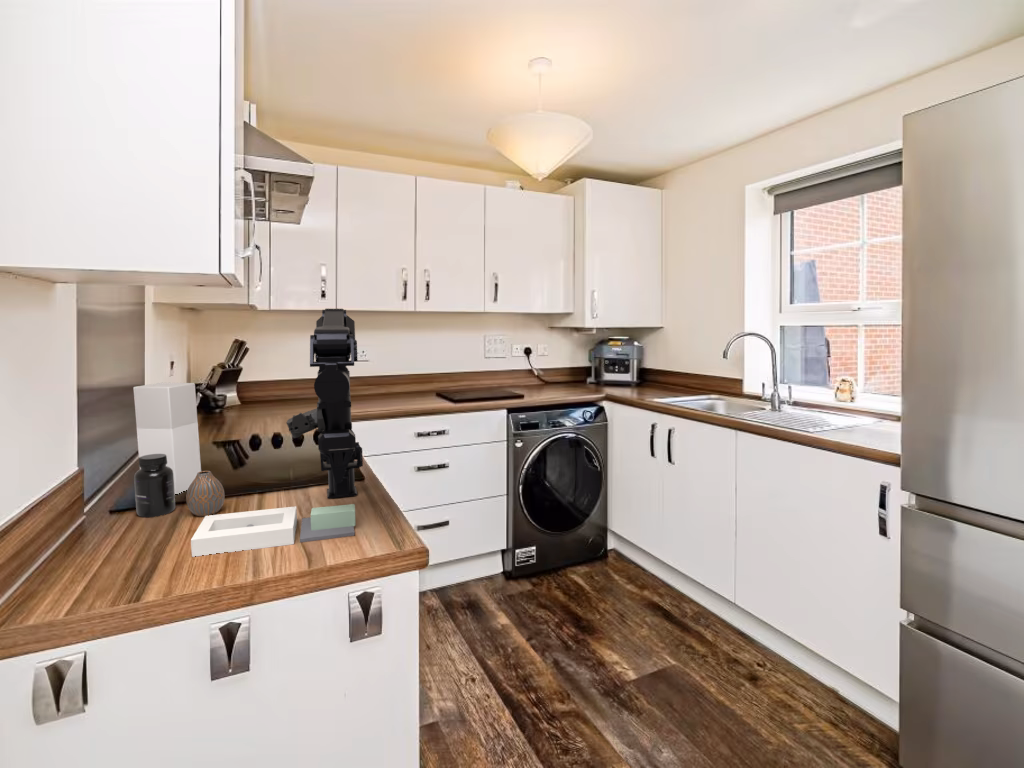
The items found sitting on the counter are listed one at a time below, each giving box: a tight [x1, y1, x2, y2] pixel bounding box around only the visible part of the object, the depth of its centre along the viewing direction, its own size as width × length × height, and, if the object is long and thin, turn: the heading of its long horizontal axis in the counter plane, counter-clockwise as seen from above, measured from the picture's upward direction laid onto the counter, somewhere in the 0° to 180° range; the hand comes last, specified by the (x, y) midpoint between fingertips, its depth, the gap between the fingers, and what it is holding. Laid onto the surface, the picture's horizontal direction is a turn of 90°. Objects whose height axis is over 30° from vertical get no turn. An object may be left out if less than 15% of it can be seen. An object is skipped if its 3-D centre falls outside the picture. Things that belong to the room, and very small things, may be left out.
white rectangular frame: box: [190, 505, 298, 558], centre depth 99 cm, size 12×16×3 cm
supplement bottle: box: [133, 454, 176, 518], centre depth 112 cm, size 7×7×12 cm
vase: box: [185, 470, 225, 517], centre depth 111 cm, size 7×7×9 cm
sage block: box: [310, 503, 356, 530], centre depth 104 cm, size 4×8×3 cm, turn 107°
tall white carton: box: [133, 382, 202, 495], centre depth 127 cm, size 9×9×25 cm
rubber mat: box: [299, 516, 355, 543], centre depth 104 cm, size 11×10×1 cm
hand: (337, 476), depth 103 cm, fingers open, 9 cm apart
